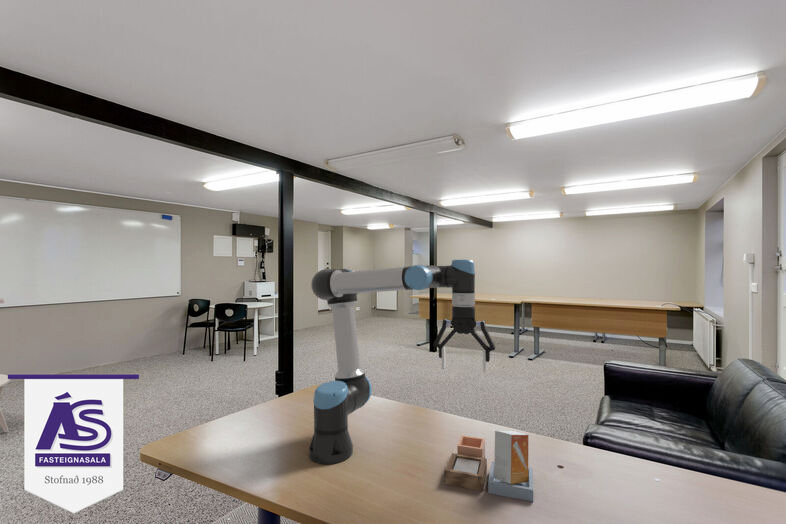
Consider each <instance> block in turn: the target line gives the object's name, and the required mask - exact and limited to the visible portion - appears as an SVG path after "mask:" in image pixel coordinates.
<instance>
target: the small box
mask: <svg viewBox="0 0 786 524" xmlns="http://www.w3.org/2000/svg"><path fill="white" fill-rule="evenodd" d="M493 462H494V478H495V479H498V480H501V481H503V482H506V483H509V484H515V483H528V467H529V434H528V433H523V432H519V431H514V430H494V460H493Z"/></svg>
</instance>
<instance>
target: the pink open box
mask: <svg viewBox="0 0 786 524" xmlns="http://www.w3.org/2000/svg"><path fill="white" fill-rule="evenodd" d="M459 438H460V439H458V443H457V445H456V446H457V448H456V449H457V454H461V455H467V456H473V457H479V458H486V438H482V437H478V436H477V437H476V436H469V435H468V436H467V435H463V434H462V435H460V437H459Z"/></svg>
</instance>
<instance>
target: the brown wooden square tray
mask: <svg viewBox="0 0 786 524" xmlns="http://www.w3.org/2000/svg"><path fill="white" fill-rule="evenodd" d="M457 458H461V459H467V460H473V461H479V462H480V467H479V471H478V474H474V473H468V472H462V471H457V470H453V469H454V466H455V463H456V461H457ZM487 460H488V458H486V457H485V458H479V457H473V456H467V455H461V454H458V453H453V452H451V455H450V457H449V460H448V462H447V465H446V467H445V473H444V477H445V480H444V481H445V483H444V484H445V485H448V486H454V487H455V486H456V487H461V488H465V489H471V490H475V491H481V492H484V488H485V483H486V478H487V474H488V461H487Z"/></svg>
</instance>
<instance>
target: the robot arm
mask: <svg viewBox="0 0 786 524" xmlns="http://www.w3.org/2000/svg"><path fill="white" fill-rule="evenodd" d="M475 276H476V272H475V262H474V260H472V259H452V261H451V264H450V265H423V264H415V265H411V266H401V267H400V266H399V267H390V268H389V267H388V268H377V269H375V268H374V269H368V270H354V271H353V270H351V269H346V268H324V269H321V270H319V271H318V272H316V273H315V274H314V276H313V277H312V280H311V285H310V286H311V290H312V293H313V294H314V295H315V296H316V297H317V298H319V299H320V300H322V301H326V302H327V306H328V307H329V308H331V311H332V312H331V313H332V322H333V323H332V324H333V331H334V332H333V333H334V341H335V342H334V343H335V353H336V354H335V355H336V362H337V372H336V373H335V375H334V380H331V381H328V382H327V381H326V382H323V383H321V384H320V385H317V387H316V388H315V390H314V395H313V435H312V438H311V441H310V445H309V448H308V457H309V459H310V460H311V461H312V462H315V463H317V464H322V465H323V464H324V465H330V464H332V465H333V464H338V463H340V462H341V463H342V462H344V461H346V460H348V459H350V458H351V456H352V455H353V452H354V451H353V450H354V448H353V447H354V446H353V445H354V444H353V442H352V439H351V435H350V432H349V425H348V424H349V423H348V421H349V415H351V414H352V413H354V412H356V410H359V409H361V408H362V407H364V406H365V405H366V404H367V403H368V401H369V400H370V398H371V396H372V392H373V389H372V388H373V387H372V383H371V381H370V380H369V379H368V377H367V376H366V373H365V370H364V369H362V367H361V361H360V352H359V343H358V333H357V323H356V322H357V321H356V312H355V306H356V304H357V303H358V296H357V295H358V294H363V293H364V294H365V293H381V292H394V291H395V292H396V291H414V290H415V291H422V290H426V289H433V288H435V289H436V288H447V289H449V288H451V293H452V294H451V301H452V302H451V304H452V307H451V320H449V319H447V318H444V319H443V320H442V325H441V328H440V329H439V332H438V333H437V336H436V337H435V340H434V342H433V347H436V348H437V349H438V358H439V359H441V369H442V370H443V369H446V366H447V363H446V361H447V360H446V359H447V358H446V357H447V355H446V349H447V348H446V347H444V346H446V344H447V343H448V341H450V339H452V338H453V336H454V335H455V334H456V333H457V334H458V335H461V334H464V335H469V334H470V335H471V336H473V338H474V339H475V340H476V341H477V342H478V343H479V345H480V346H481V347H482V349H483V352H482V361H483V362H482V372H483V373H486V372H487V363H488V362H490V359H491V358H490V357H491V354H490V353H491V351H495V350H496V346H495V343H494V340H493V339H492V337H491V335H490V333H489V331H488V329H487V327H486V320H481V321H479V320H478V321H477V320H476V307H475V306H474V305H476V293H475V292H476V291H475V290H476V288H475V287H476V286H475V285H476V284H475V283H476V277H475ZM450 325H451V326H452V328H453V329H452V330H451V331H450V332H449V333H448V335H447V336H446V337H445V338H444V339H443V340H442V341H441V339H442V337H443V336H444V333H445V331H446V330H447V327H449V326H450ZM476 326H477V327H478V328H479V329H480V330H481V332H482V334H483V336H484V338H485V339H486V341H487V343H488V344H487V343H486V342H485V340H484V339H483V338H482V337H481V336H480V335H479V333H478V332H477V330H476V329H475V328H476ZM440 341H441V343H440ZM488 345H489V346H488Z"/></svg>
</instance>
